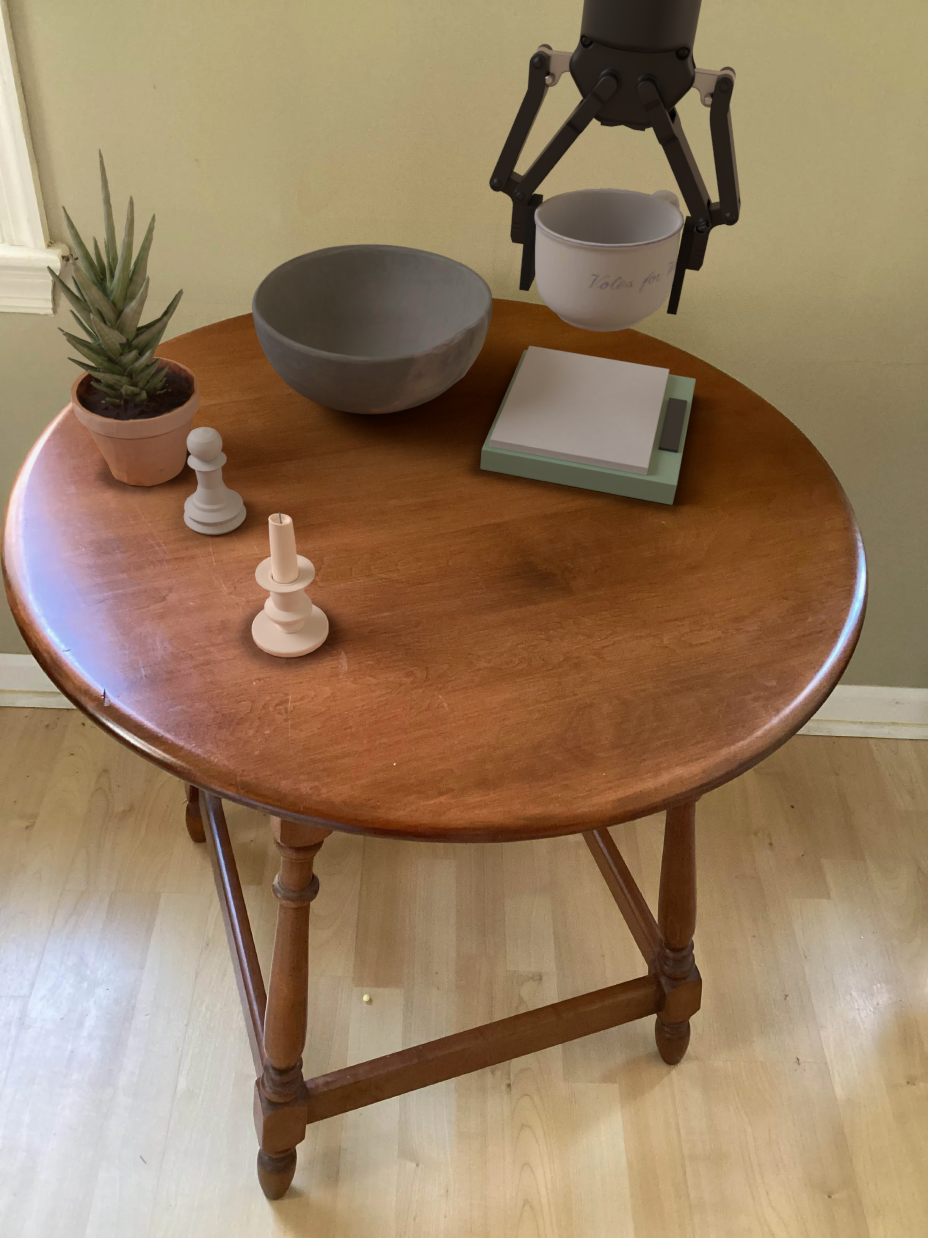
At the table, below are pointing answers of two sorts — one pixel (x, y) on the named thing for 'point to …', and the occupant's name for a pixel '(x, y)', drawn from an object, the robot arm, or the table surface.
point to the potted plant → (126, 358)
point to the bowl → (372, 325)
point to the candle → (287, 597)
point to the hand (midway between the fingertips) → (599, 294)
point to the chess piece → (211, 487)
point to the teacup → (606, 255)
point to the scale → (592, 425)
